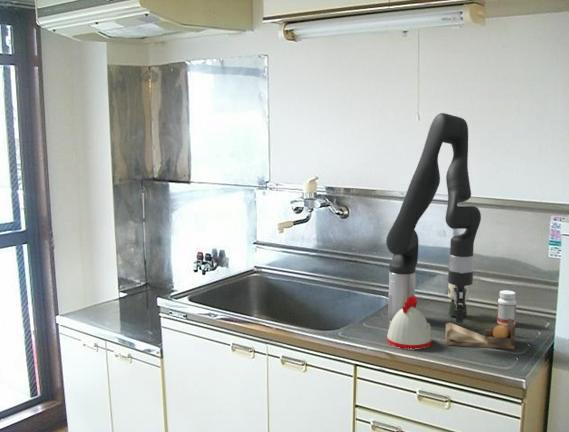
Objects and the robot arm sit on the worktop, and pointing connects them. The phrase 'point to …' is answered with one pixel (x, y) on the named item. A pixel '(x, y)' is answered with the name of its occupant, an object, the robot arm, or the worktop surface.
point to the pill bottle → (506, 308)
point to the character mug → (452, 304)
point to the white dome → (409, 327)
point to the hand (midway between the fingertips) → (458, 318)
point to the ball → (500, 332)
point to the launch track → (479, 337)
